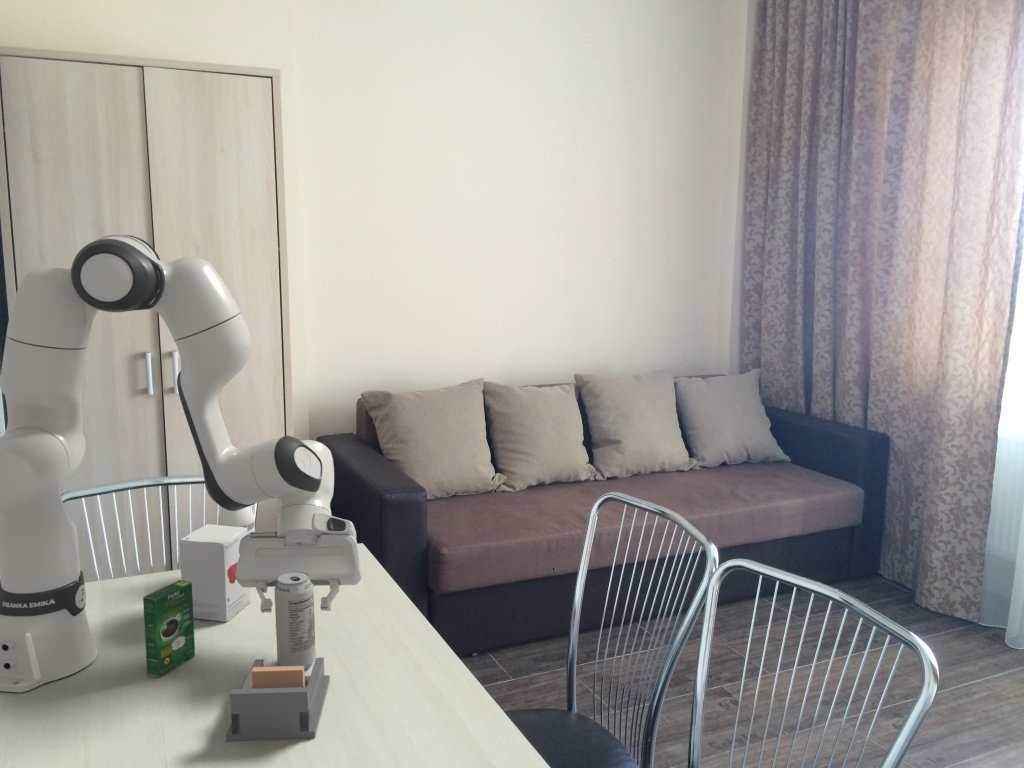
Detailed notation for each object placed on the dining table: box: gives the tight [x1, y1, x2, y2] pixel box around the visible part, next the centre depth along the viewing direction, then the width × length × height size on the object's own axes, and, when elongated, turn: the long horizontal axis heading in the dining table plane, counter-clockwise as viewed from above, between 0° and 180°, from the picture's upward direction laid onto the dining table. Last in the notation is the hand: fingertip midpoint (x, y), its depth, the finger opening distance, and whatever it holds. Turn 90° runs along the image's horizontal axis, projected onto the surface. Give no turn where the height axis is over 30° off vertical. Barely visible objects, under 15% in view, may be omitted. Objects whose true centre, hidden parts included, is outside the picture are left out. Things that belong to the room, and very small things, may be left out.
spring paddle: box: [252, 665, 306, 689], centre depth 121 cm, size 7×1×6 cm, turn 94°
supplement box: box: [179, 523, 251, 623], centre depth 154 cm, size 9×9×15 cm
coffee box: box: [142, 579, 196, 678], centre depth 134 cm, size 8×3×13 cm, turn 156°
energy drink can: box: [274, 571, 317, 671], centre depth 135 cm, size 6×6×15 cm
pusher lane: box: [225, 657, 331, 742], centre depth 123 cm, size 12×15×7 cm
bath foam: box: [217, 506, 256, 538], centre depth 169 cm, size 7×7×20 cm
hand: (295, 610), depth 135 cm, fingers open, 8 cm apart
